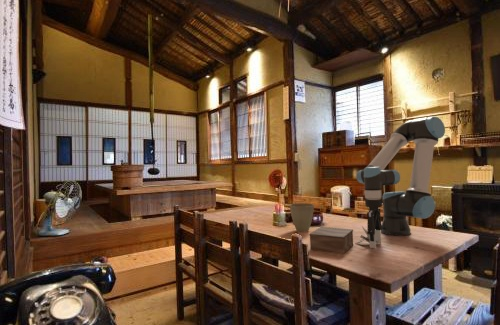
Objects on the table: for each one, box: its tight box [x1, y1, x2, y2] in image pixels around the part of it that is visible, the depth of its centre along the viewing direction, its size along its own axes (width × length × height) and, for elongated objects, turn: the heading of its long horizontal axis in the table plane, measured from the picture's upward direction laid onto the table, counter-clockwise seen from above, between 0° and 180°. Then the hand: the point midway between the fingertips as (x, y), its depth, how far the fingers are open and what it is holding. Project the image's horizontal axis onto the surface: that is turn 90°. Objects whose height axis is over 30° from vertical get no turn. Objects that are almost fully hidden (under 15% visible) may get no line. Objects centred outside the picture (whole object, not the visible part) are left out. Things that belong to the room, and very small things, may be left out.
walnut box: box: [308, 226, 354, 255], centre depth 144 cm, size 16×16×8 cm
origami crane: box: [355, 221, 377, 245], centre depth 146 cm, size 11×10×10 cm
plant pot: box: [289, 202, 315, 233], centre depth 181 cm, size 15×15×16 cm
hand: (375, 245), depth 142 cm, fingers open, 8 cm apart
